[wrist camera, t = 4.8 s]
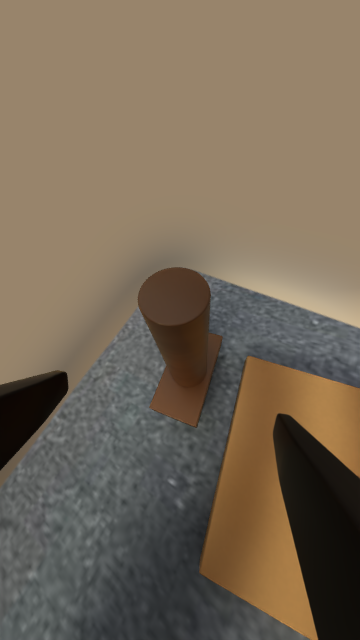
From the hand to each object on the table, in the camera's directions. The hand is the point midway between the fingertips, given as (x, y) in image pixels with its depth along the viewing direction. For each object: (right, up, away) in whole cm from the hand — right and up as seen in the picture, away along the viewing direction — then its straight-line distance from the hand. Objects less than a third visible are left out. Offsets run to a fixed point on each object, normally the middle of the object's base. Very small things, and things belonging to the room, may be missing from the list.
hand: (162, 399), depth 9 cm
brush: (+2, -2, +11) cm, 11 cm away
